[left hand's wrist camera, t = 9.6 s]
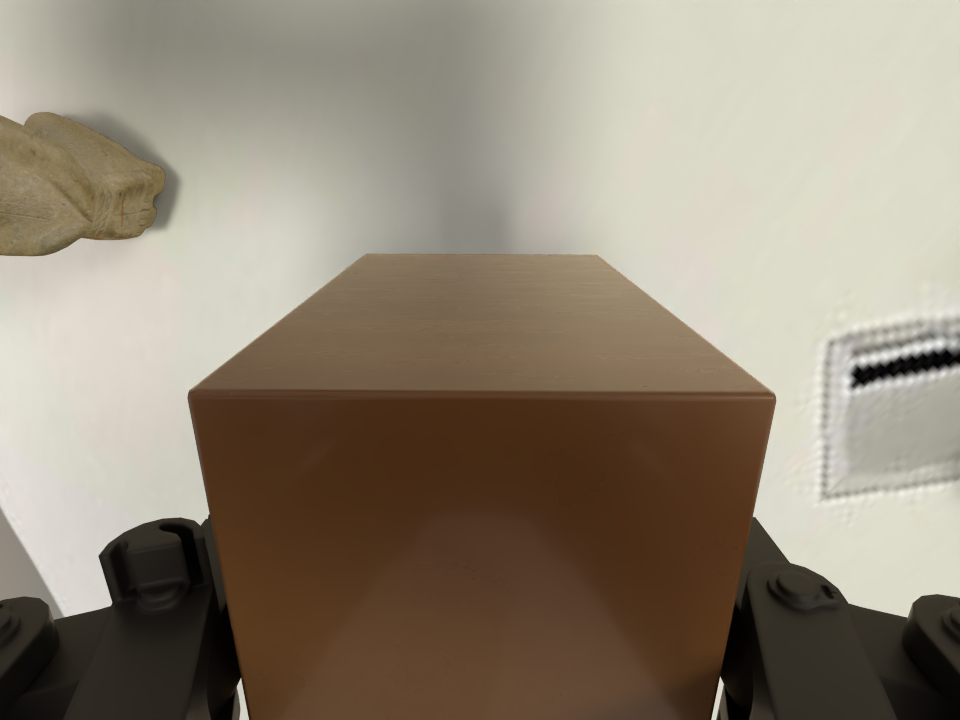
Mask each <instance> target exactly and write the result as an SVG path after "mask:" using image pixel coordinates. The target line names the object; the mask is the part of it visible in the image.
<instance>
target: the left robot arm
mask: <svg viewBox="0 0 960 720" xmlns="http://www.w3.org/2000/svg"><path fill="white" fill-rule="evenodd" d="M99 559H100V563H101V566H102V569H103V573H104V576H105V579H106V583H107V586H108V589H109V593H110V596H111V599H112V602H113V603H112V605H111V606H110V607H106V608H103V609H100V610H95V611H91V612H86V613H82V614H78V615H73V616H69V617H65V618H60V619H56V620H53V617H52V614H51V611H50V608H49V606H48V605H47V604H46V603H45V602H44V601H42V600H41V599H40V598H32V597H18V598H12V599H6V600H2V601H0V720H239V717H240V703H239V696H238V691H237V685H238V683H239V680H240V678H241V674H240V669H239V664H238V658H237V653H236V648H235V643H234V638H233V632H232V627H231V622H230V617H229V612H228V606H227V601H226V596H225V591H224V585H223V580H222V575H221V570H220V565H219V559H218V554H217V549H216V544H215V538H214V533H213V528H212V523H211V518H210V514H209V515H208V519H205V521H204V522H203V523H202V525H201V526H200V525H199V524H198V523H197V522H195V521H194V520H189V519H185V518H166V519H160V520H156V521H152V522H148V523H144V524H142V525H139V526H137V527H135V528H133V529H131V530H128V531H126V532H124V533H123V534H121V535H120V536H118V537H117V538H116V539H114V540H113V541H111V542H110V543H109V544H108V545H107V546H106V547H105V549H104V550H103V551H102V552H101V553H100V555H99ZM720 677H721V679H722V681H723V683H724V686H723V691H722V696H721V700H720V705H719V710H718V714H717V719H716V720H960V598H957V597H951V596H945V595H939V594H935V595H927V596H921V597H920V598H919V599H917V600H916V601H915V602H914V603H913V604H912V607H911V610H910V613H909V616H908V618H906V617H902V616H897V615H893V614H889V613H884V612H880V611H875V610H871V609H867V608H862V607H859V606H855V605H852V604H849V603H848V602H847V601H846V599H845V598H844V596H843V595H842V593H841V592H840V591H839V589H838V588H837V587H835V586H834V585H833V584H832V583H831V582H829V581H828V580H827V579H826V578H824V577H823V576H821V575H819V574H817V573H815V572H813V571H811V570H809V569H807V568H805V567H802V566H798V565H795V564H792V563H790V562H789V561H788V560H787V558H786V557H785V556H784V554H783V553H782V552H781V551H780V549H779V548H778V547H777V545H776V544H775V543H774V541H773V540H772V539H771V537H770V536H769V535H768V533H767V532H766V531H765V530H764V528H763V527H762V526H761V524H760V523H759V522H758V520H757V519H756V518H755V517H752V522H751V527H750V532H749V537H748V542H747V546H746V551H745V556H744V561H743V566H742V571H741V576H740V581H739V586H738V590H737V595H736V600H735V605H734V610H733V615H732V620H731V625H730V630H729V634H728V639H727V644H726V649H725V654H724V659H723V664H722V669H721V674H720Z"/></svg>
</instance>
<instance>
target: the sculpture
mask: <svg viewBox="0 0 960 720" xmlns="http://www.w3.org/2000/svg"><path fill="white" fill-rule="evenodd" d="M164 182H165V171H164V170H163V169H162V168H160V167H158V166H157V165H155V164H153V163H148V162H145V161H143V160H141V159H139V158H138V157H136V156H135V155H133V154H132V153H131V152H129V151H128V150H127V149H125V148H124V147H123V146H121V145H119V144H118V143H116V142H114V141H112V140H110V139H108V138H106V137H104V136H103V135H101V134H99V133H97V132H95V131H93V130H92V129H90V128H88V127H85V126H83V125H81V124H79V123H76V122H74V121H71V120H69V119H67V118H64V117H62V116H59V115H56V114H54V113H49V112H41V113H35V114H33V115H31V116H30V117H29V118H28V119H27V121H26V122H25V125H24V126H23V125H21V124H19V123H16V122H14V121H12V120H10V119H8V118H5V117H3V116H1V115H0V255H6V256H44V255H48V254H52V253H55V252H57V251H59V250H62V249H64V248H66V247H68V246H69V245H71V244H72V243H74V242H75V241H77V240H78V239H80V238H87V239H94V240H121V239H129V238H134V237H138V236H140V235H141V234H142V233H143V232H144V230H145V228H148V227H150V226H151V225H152V224H153V221H154V219H155V216H156V213H157V209H156V208H155V206H154V205H152V203H153V198H154V197H155V196H156V195H157V194H159V193H160V192H161V191H162V190H163V188H164Z"/></svg>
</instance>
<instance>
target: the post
mask: <svg viewBox="0 0 960 720" xmlns="http://www.w3.org/2000/svg"><path fill="white" fill-rule="evenodd" d="M188 403H189V408H190V413H191V418H192V424H193V429H194V434H195V439H196V445H197V450H198V455H199V460H200V465H201V471H202V476H203V481H204V486H205V492H206V497H207V502H208V507H209V512H210V518H211V523H212V528H213V533H214V538H215V544H216V549H217V554H218V559H219V565H220V570H221V575H222V580H223V585H224V591H225V596H226V601H227V606H228V612H229V617H230V622H231V627H232V632H233V638H234V643H235V648H236V653H237V658H238V664H239V669H240V674H241V679H242V685H243V690H244V695H245V700H246V705H247V711H248V716H249V720H711V718H712V713H713V708H714V703H715V698H716V693H717V688H718V683H719V678H720V674H721V669H722V664H723V659H724V654H725V649H726V644H727V639H728V634H729V630H730V625H731V620H732V615H733V610H734V605H735V600H736V595H737V590H738V586H739V581H740V576H741V571H742V566H743V561H744V556H745V551H746V546H747V542H748V537H749V532H750V527H751V522H752V517H753V512H754V507H755V502H756V498H757V493H758V488H759V483H760V478H761V473H762V468H763V463H764V458H765V454H766V449H767V444H768V439H769V434H770V429H771V424H772V419H773V414H774V410H775V405H776V396H775V394H774V393H773V392H772V391H771V390H770V389H768V388H767V387H766V386H764V385H763V384H762V383H761V382H759V381H758V380H757V379H755V378H754V377H753V376H752V375H750V374H749V373H748V372H746V371H745V370H744V369H743V368H741V367H740V366H739V365H738V364H736V363H735V362H734V361H732V360H731V359H730V358H729V357H727V356H726V355H725V354H723V353H722V352H721V351H720V350H718V349H717V348H716V347H714V346H713V345H712V344H711V343H709V342H708V341H707V340H705V339H704V338H703V337H702V336H700V335H699V334H698V333H696V332H695V331H694V330H693V329H691V328H690V327H689V326H688V325H686V324H685V323H684V322H682V321H681V320H680V319H679V318H677V317H676V316H675V315H673V314H672V313H671V312H670V311H668V310H667V309H666V308H664V307H663V306H662V305H661V304H659V303H658V302H657V301H655V300H654V299H653V298H652V297H650V296H649V295H648V294H647V293H645V292H644V291H643V290H641V289H640V288H639V287H638V286H636V285H635V284H634V283H632V282H631V281H630V280H629V279H627V278H626V277H625V276H623V275H622V274H621V273H620V272H618V271H617V270H616V269H614V268H613V267H612V266H611V265H609V264H608V263H607V262H606V261H604V260H603V259H602V258H600V257H599V256H597V255H502V254H365V255H364V256H362V257H361V258H360V259H358V260H357V261H356V262H354V263H353V264H352V265H351V266H349V267H348V268H347V269H345V270H344V271H343V272H342V273H340V274H339V275H338V276H336V277H335V278H334V279H333V280H331V281H330V282H329V283H327V284H326V285H325V286H324V287H322V288H321V289H320V290H318V291H317V292H316V293H315V294H313V295H312V296H311V297H309V298H308V299H307V300H305V301H304V302H303V303H302V304H300V305H299V306H298V307H296V308H295V309H294V310H293V311H291V312H290V313H289V314H287V315H286V316H285V317H284V318H282V319H281V320H280V321H278V322H277V323H276V324H275V325H273V326H272V327H271V328H269V329H268V330H267V331H266V332H264V333H263V334H262V335H260V336H259V337H258V338H256V339H255V340H254V341H253V342H251V343H250V344H249V345H247V346H246V347H245V348H244V349H242V350H241V351H240V352H238V353H237V354H236V355H235V356H233V357H232V358H231V359H229V360H228V361H227V362H226V363H224V364H223V365H222V366H220V367H219V368H218V369H217V370H215V371H214V372H213V373H211V374H210V375H209V376H207V377H206V378H205V379H204V380H202V381H201V382H200V383H198V384H197V385H196V386H195V387H193V388H192V389H191V390H190V391H189V393H188Z"/></svg>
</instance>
